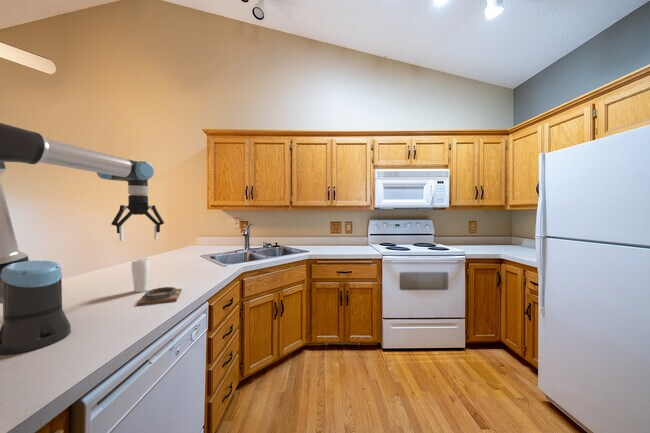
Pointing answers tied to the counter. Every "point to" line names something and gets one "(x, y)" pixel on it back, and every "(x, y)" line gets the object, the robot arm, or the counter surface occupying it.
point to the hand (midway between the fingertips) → (139, 239)
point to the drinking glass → (140, 274)
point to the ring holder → (160, 296)
